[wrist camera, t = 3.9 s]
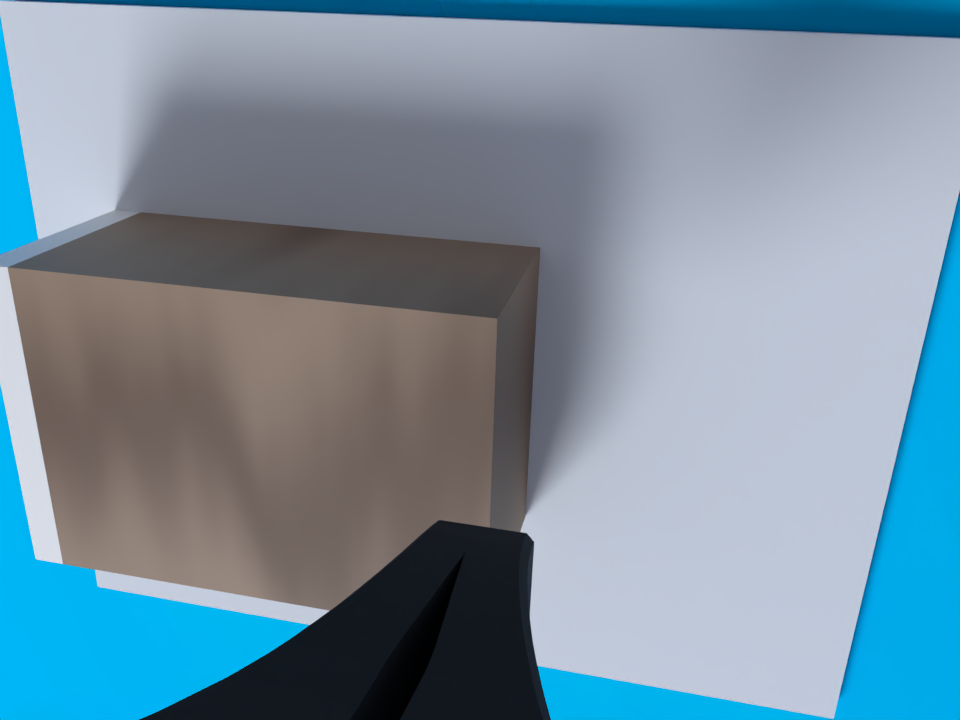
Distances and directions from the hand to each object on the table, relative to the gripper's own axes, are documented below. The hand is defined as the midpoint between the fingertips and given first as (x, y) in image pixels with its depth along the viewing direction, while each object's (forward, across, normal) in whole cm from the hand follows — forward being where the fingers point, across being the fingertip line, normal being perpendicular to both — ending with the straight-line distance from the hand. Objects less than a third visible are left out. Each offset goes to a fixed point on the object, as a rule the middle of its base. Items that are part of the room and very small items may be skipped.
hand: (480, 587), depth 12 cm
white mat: (+7, +2, 0) cm, 7 cm away
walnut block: (+4, 0, 0) cm, 5 cm away
